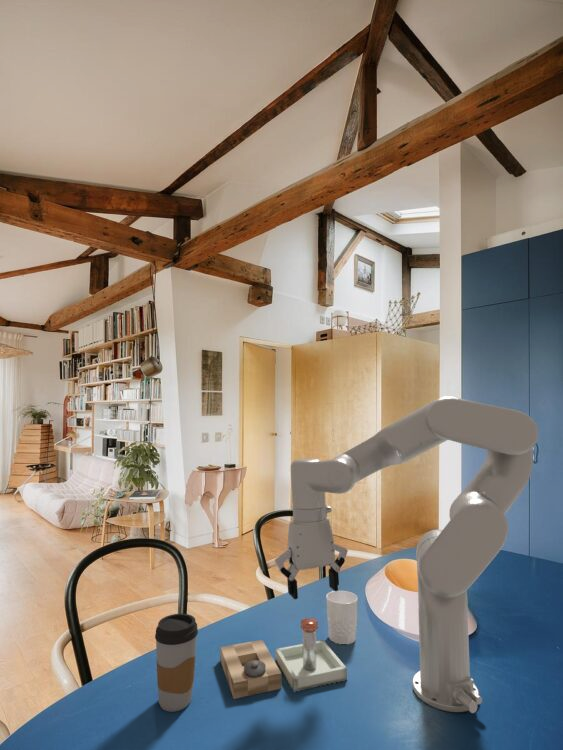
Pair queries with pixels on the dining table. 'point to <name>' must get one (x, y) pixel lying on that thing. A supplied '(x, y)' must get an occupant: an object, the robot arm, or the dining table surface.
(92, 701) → the dining table surface
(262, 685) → the block
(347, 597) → the white cup
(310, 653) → the pin
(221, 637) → the dining table surface
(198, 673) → the dining table surface
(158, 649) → the coffee cup
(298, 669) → the tray
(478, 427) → the robot arm
